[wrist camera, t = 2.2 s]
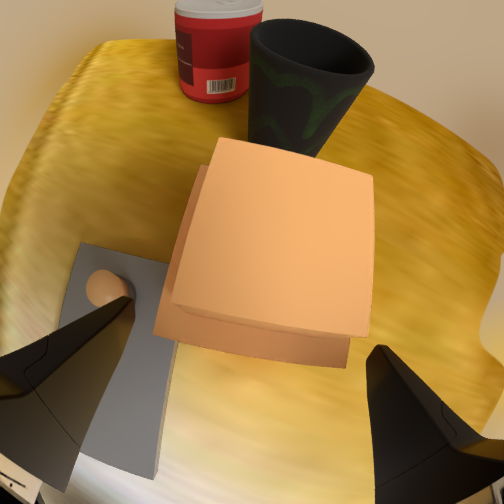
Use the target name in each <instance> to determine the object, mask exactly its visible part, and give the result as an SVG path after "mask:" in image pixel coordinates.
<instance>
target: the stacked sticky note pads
mask: <svg viewBox="0 0 504 504" xmlns="http://www.w3.org/2000/svg"><path fill="white" fill-rule="evenodd" d="M373 268H374V193H373V176H371V175H368V174H365V173H362V172H359V171H356V170H353V169H350V168H347V167H344V166H341V165H337V164H334V163H331V162H327V161H324V160H320V159H317V158H313V157H309V156H305V155H302V154H298V153H294V152H290V151H286V150H281V149H277V148H273V147H268V146H264V145H259V144H254V143H250V142H244V141H239V140H234V139H228V138H223V137H219V139H218V142H217V145H216V147H215V150H214V153H213V156H212V159H211V162H210V165H205V164H201V165H200V168H199V170H198V173H197V176H196V179H195V182H194V185H193V188H192V191H191V194H190V197H189V200H188V203H187V206H186V209H185V213H184V216H183V219H182V222H181V226H180V229H179V232H178V236H177V239H176V243H175V246H174V250H173V253H172V257H171V260H170V264H169V268H168V272H167V275H166V279H165V283H164V287H163V291H162V295H161V299H160V304H159V308H158V312H157V317H156V321H155V326H154V330H153V335H156V336H159V337H163V338H167V339H171V340H174V341H178V342H182V343H186V344H191V345H195V346H199V347H204V348H208V349H213V350H217V351H222V352H227V353H232V354H238V355H243V356H249V357H254V358H260V359H267V360H273V361H280V362H287V363H295V364H303V365H312V366H321V367H332V368H345V369H346V364H347V358H348V351H349V345H350V338H357V337H368V329H369V321H370V311H371V299H372V286H373Z"/></svg>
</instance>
